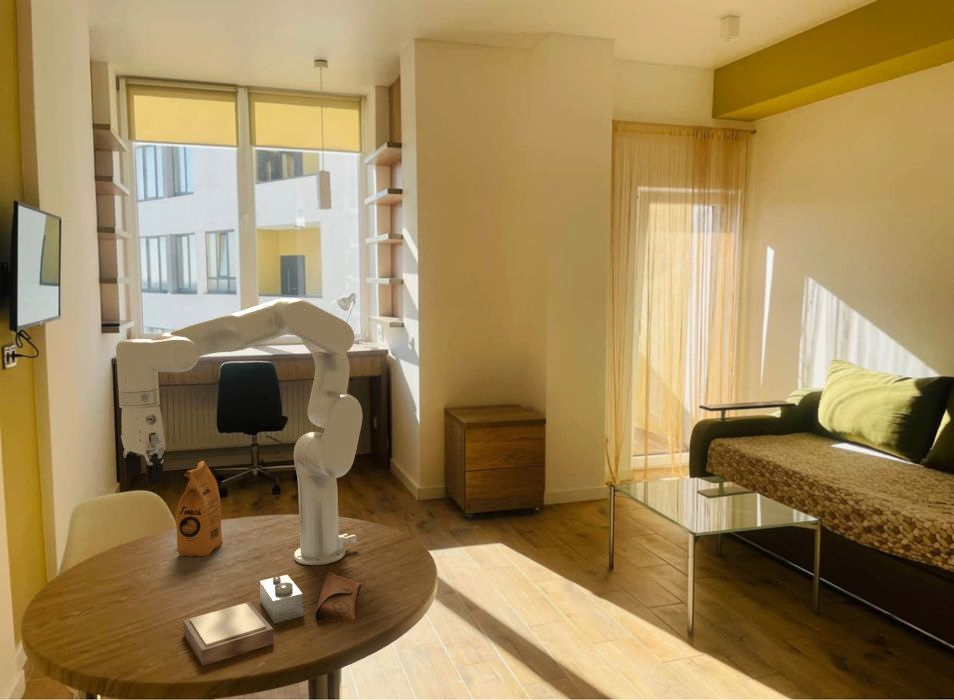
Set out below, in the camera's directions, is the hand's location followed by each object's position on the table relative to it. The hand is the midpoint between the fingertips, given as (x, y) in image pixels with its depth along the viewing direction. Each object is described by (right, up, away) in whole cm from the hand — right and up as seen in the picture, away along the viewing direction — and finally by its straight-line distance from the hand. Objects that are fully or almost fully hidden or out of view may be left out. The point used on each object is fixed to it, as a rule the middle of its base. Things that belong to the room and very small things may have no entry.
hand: (144, 478), depth 144 cm
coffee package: (-2, -25, +35) cm, 43 cm away
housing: (+29, -28, +1) cm, 40 cm away
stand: (+22, -29, -11) cm, 38 cm away
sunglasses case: (+40, -28, +5) cm, 49 cm away
